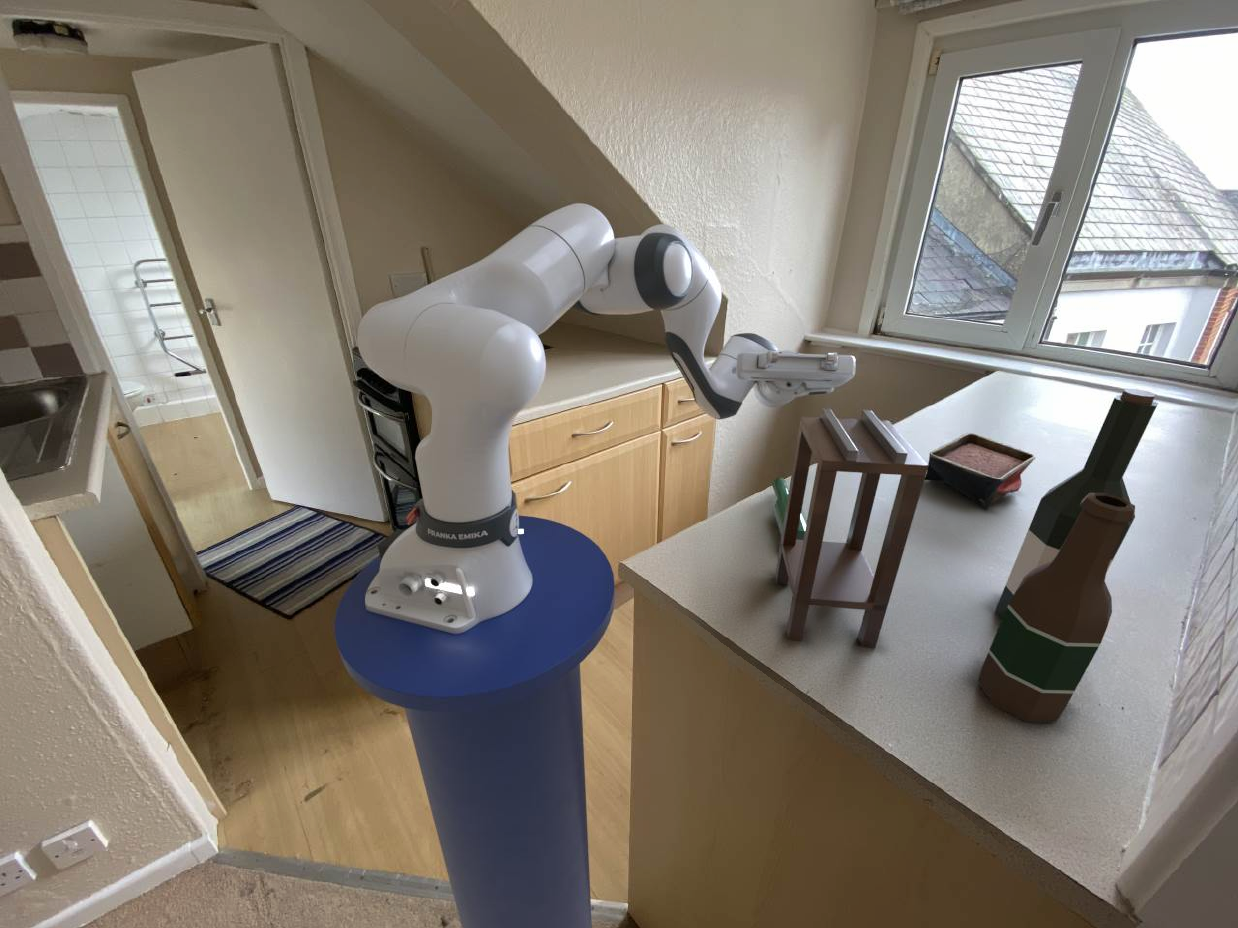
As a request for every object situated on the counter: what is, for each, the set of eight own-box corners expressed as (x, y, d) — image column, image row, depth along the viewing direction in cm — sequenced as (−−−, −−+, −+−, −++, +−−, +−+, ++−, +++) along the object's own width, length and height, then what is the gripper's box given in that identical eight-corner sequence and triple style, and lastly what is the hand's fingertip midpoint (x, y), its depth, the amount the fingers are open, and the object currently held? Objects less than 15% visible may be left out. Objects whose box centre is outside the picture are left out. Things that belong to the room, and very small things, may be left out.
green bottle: (818, 550, 78) (810, 527, 76) (788, 559, 79) (779, 535, 77) (794, 490, 94) (787, 469, 92) (770, 497, 95) (763, 477, 94)
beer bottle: (1052, 679, 58) (1150, 488, 47) (1073, 738, 52) (1192, 533, 41) (970, 657, 61) (1045, 472, 50) (980, 710, 54) (1069, 511, 44)
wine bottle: (1068, 611, 68) (1179, 387, 54) (1083, 656, 61) (1214, 412, 48) (991, 591, 71) (1077, 376, 58) (998, 632, 64) (1097, 398, 51)
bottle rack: (788, 639, 63) (824, 449, 52) (774, 576, 74) (802, 407, 63) (875, 647, 62) (932, 454, 51) (848, 582, 73) (890, 410, 62)
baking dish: (1031, 503, 96) (1050, 450, 93) (985, 517, 86) (1004, 459, 83) (949, 477, 107) (964, 429, 104) (900, 487, 98) (915, 435, 95)
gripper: (731, 357, 102) (739, 335, 88) (841, 360, 100) (867, 339, 86) (729, 389, 102) (737, 372, 88) (840, 393, 99) (865, 377, 86)
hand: (802, 356), depth 87 cm, fingers open, 8 cm apart
